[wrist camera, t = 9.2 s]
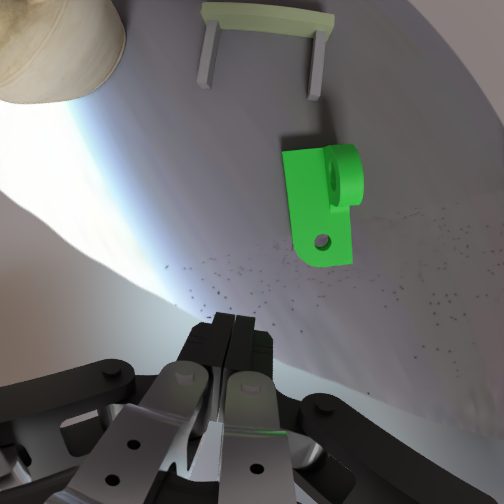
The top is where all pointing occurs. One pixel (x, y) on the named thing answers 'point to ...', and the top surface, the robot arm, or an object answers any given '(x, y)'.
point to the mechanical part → (323, 200)
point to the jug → (57, 48)
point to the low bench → (264, 21)
